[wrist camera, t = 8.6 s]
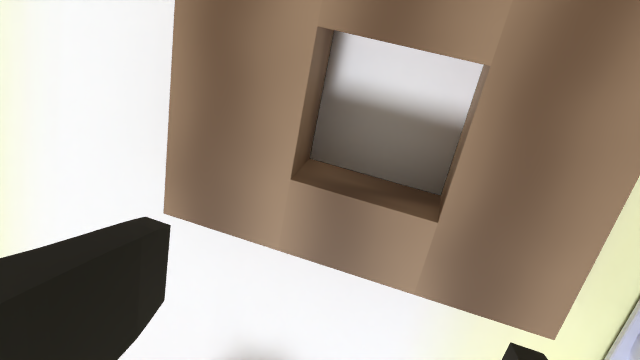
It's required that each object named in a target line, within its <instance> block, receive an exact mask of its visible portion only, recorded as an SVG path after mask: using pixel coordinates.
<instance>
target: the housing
mask: <svg viewBox="0 0 640 360" xmlns="http://www.w3.org/2000/svg"><path fill="white" fill-rule="evenodd" d="M334 30H336V31H340V32H345V33H349V34H353V35H358V36H362V37H367V38H371V39H375V40H380V41H384V42H388V43H393V44H397V45H401V46H406V47H410V48H414V49H419V50H423V51H427V52H432V53H436V54H440V55H445V56H449V57H453V58H458V59H462V60H466V61H471V62H475V63H479V64H484V66H483V69H482V72H481V75H480V78H479V81H478V84H477V87H476V90H475V93H474V96H473V99H472V102H471V105H470V108H469V111H468V114H467V117H466V120H465V123H464V126H463V129H462V133H461V136H460V139H459V142H458V145H457V148H456V151H455V154H454V157H453V160H452V163H451V166H450V169H449V172H448V175H447V178H446V181H445V184H444V187H443V190H442V193H441V196H440V195H436V194H433V193H429V192H426V191H422V190H419V189H415V188H411V187H408V186H404V185H401V184H397V183H394V182H390V181H387V180H383V179H380V178H376V177H373V176H369V175H366V174H362V173H359V172H355V171H352V170H348V169H345V168H341V167H337V166H334V165H330V164H327V163H323V162H320V161H316V160H313V159H310V154H311V149H312V144H313V138H314V133H315V128H316V123H317V117H318V112H319V107H320V102H321V96H322V91H323V86H324V81H325V76H326V70H327V65H328V60H329V55H330V49H331V44H332V39H333V34H334ZM639 176H640V0H175V10H174V29H173V47H172V66H171V85H170V103H169V122H168V141H167V159H166V178H165V197H164V214H167V215H170V216H173V217H176V218H180V219H183V220H186V221H189V222H192V223H195V224H198V225H201V226H204V227H207V228H210V229H213V230H217V231H220V232H223V233H226V234H229V235H232V236H235V237H238V238H241V239H244V240H247V241H250V242H253V243H257V244H260V245H263V246H266V247H269V248H272V249H275V250H278V251H281V252H284V253H287V254H290V255H294V256H297V257H300V258H303V259H306V260H309V261H312V262H315V263H318V264H321V265H324V266H327V267H330V268H334V269H337V270H340V271H343V272H346V273H349V274H352V275H355V276H358V277H361V278H364V279H367V280H371V281H374V282H377V283H380V284H383V285H386V286H389V287H392V288H395V289H398V290H401V291H404V292H407V293H411V294H414V295H417V296H420V297H423V298H426V299H429V300H432V301H435V302H438V303H441V304H444V305H448V306H451V307H454V308H457V309H460V310H463V311H466V312H469V313H472V314H475V315H478V316H481V317H484V318H488V319H491V320H494V321H497V322H500V323H503V324H506V325H509V326H512V327H515V328H518V329H521V330H524V331H528V332H531V333H534V334H537V335H540V336H543V337H546V338H549V339H552V340H555V338H556V336H557V334H558V332H559V330H560V328H561V326H562V324H563V323H564V321H565V319H566V317H567V315H568V313H569V311H570V309H571V307H572V305H573V303H574V301H575V299H576V297H577V295H578V294H579V292H580V290H581V288H582V286H583V284H584V282H585V280H586V278H587V276H588V274H589V272H590V270H591V268H592V267H593V265H594V263H595V261H596V259H597V257H598V255H599V253H600V251H601V249H602V247H603V245H604V243H605V241H606V239H607V238H608V236H609V234H610V232H611V230H612V228H613V226H614V224H615V222H616V220H617V218H618V216H619V214H620V212H621V210H622V209H623V207H624V205H625V203H626V201H627V199H628V197H629V195H630V193H631V191H632V189H633V187H634V185H635V183H636V182H637V180H638V178H639Z"/></svg>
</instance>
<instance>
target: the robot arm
mask: <svg viewBox="0 0 640 360" xmlns="http://www.w3.org/2000/svg"><path fill="white" fill-rule="evenodd" d="M170 226H171V225H168V224H165V223H162V222H160V221H157V220H154V219H151V218H148V217H142V218H138V219H134V220H130V221H126V222H123V223H119V224H116V225H113V226H109V227H106V228H103V229H100V230H96V231H93V232H90V233H87V234H83V235H80V236H77V237H74V238H70V239H67V240H64V241H60V242H57V243H54V244H51V245H47V246H44V247H40V248H37V249H33V250H29V251H26V252H22V253H18V254H15V255H11V256H7V257H3V258H0V360H118V359H119V357H120V356H121V355H122V354H123V353H124V352H125V351H126V350H127V349H128V348H129V347H130V346H131V344H132V343H133V342H134V341H135V340H136V339H137V338H138V336H139V335H140V334H141V332H142V331H143V330H144V328H145V327H146V326H147V324H148V323H149V322H150V320H151V319H152V317H153V316H154V314H155V313H156V312H157V310H158V309H159V307H160V306H161V304H162V303H163V302H164V298H165V286H166V274H167V262H168V250H169V238H170ZM502 360H548V359H547V358H546V356H545V355H544V354H543V353H540V352H537V351H534V350H531V349H528V348H525V347H522V346H520V345H517V344H514V343H511V342H510V344H509V346H508V348H507V350H506V352H505V354H504V356H503V358H502ZM604 360H640V299H639V301H638V303H637V305H636V306H635V308H634V310H633V311H632V313H631V315H630V316H629V318H628V320H627V322H626V323H625V325H624V327H623V328H622V330H621V332H620V333H619V335H618V337H617V339H616V340H615V342H614V344H613V345H612V347H611V349H610V350H609V352H608V354H607V355H606V357H605V359H604Z"/></svg>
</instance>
